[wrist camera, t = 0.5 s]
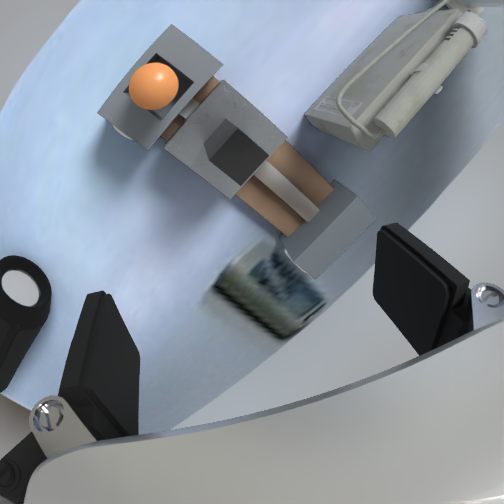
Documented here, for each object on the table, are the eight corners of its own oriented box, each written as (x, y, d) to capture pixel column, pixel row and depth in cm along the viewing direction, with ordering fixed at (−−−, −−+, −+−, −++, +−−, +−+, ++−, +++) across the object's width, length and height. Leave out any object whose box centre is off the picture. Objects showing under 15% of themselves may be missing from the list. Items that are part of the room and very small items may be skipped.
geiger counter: (394, 172, 23) (515, 19, 17) (347, 116, 20) (486, -31, 14) (325, 139, 35) (436, 20, 29) (287, 102, 32) (408, -16, 26)
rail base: (167, 41, 27) (165, 38, 24) (347, 204, 40) (356, 212, 38) (117, 100, 29) (112, 101, 26) (304, 248, 42) (311, 258, 40)
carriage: (220, 80, 27) (235, 77, 19) (279, 132, 31) (316, 153, 23) (165, 142, 29) (157, 166, 21) (226, 189, 33) (243, 230, 25)
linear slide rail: (173, 34, 26) (171, 24, 21) (352, 199, 40) (376, 217, 35) (109, 110, 29) (95, 115, 24) (297, 255, 42) (313, 281, 37)
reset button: (155, 58, 22) (151, 53, 19) (187, 82, 24) (188, 81, 20) (128, 91, 23) (119, 91, 20) (159, 114, 25) (155, 119, 21)
